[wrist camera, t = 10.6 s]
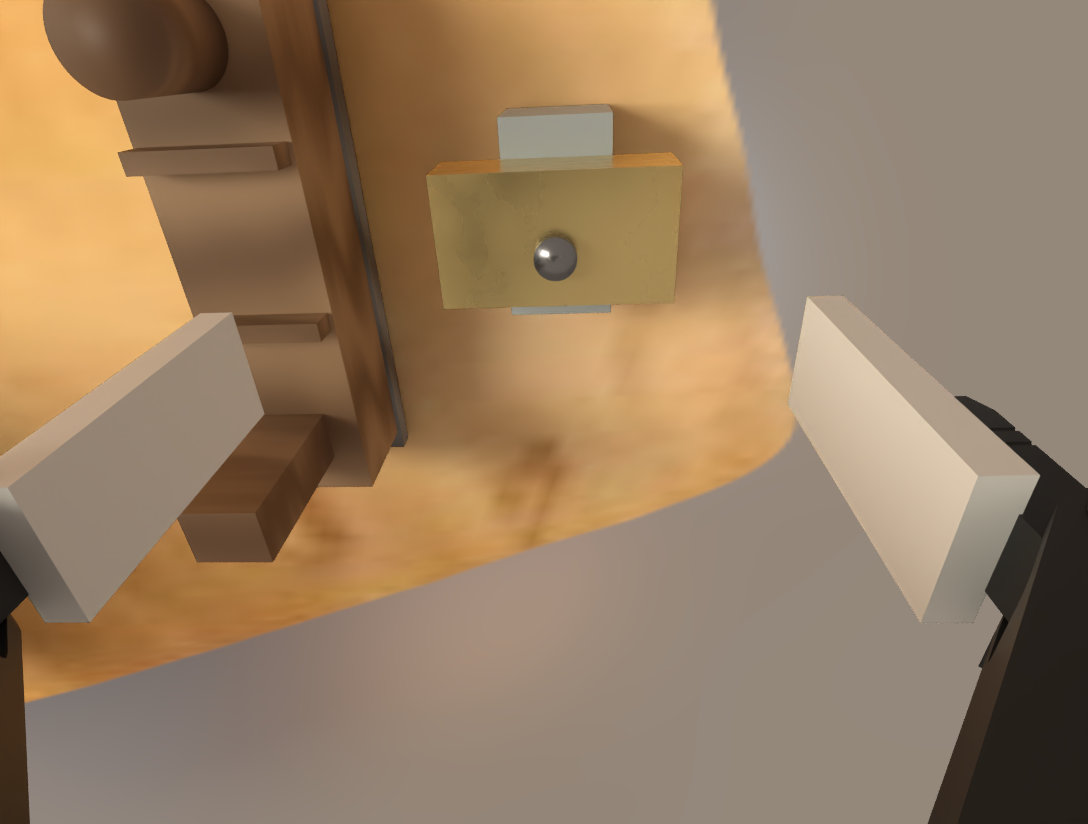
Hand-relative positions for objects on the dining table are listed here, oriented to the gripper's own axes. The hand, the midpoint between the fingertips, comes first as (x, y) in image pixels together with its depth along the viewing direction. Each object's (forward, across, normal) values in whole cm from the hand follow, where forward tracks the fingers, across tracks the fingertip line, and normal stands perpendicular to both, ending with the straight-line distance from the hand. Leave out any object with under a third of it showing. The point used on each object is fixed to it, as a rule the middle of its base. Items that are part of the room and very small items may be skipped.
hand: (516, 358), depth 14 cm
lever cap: (+13, +1, 0) cm, 13 cm away
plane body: (+17, -12, -1) cm, 20 cm away
